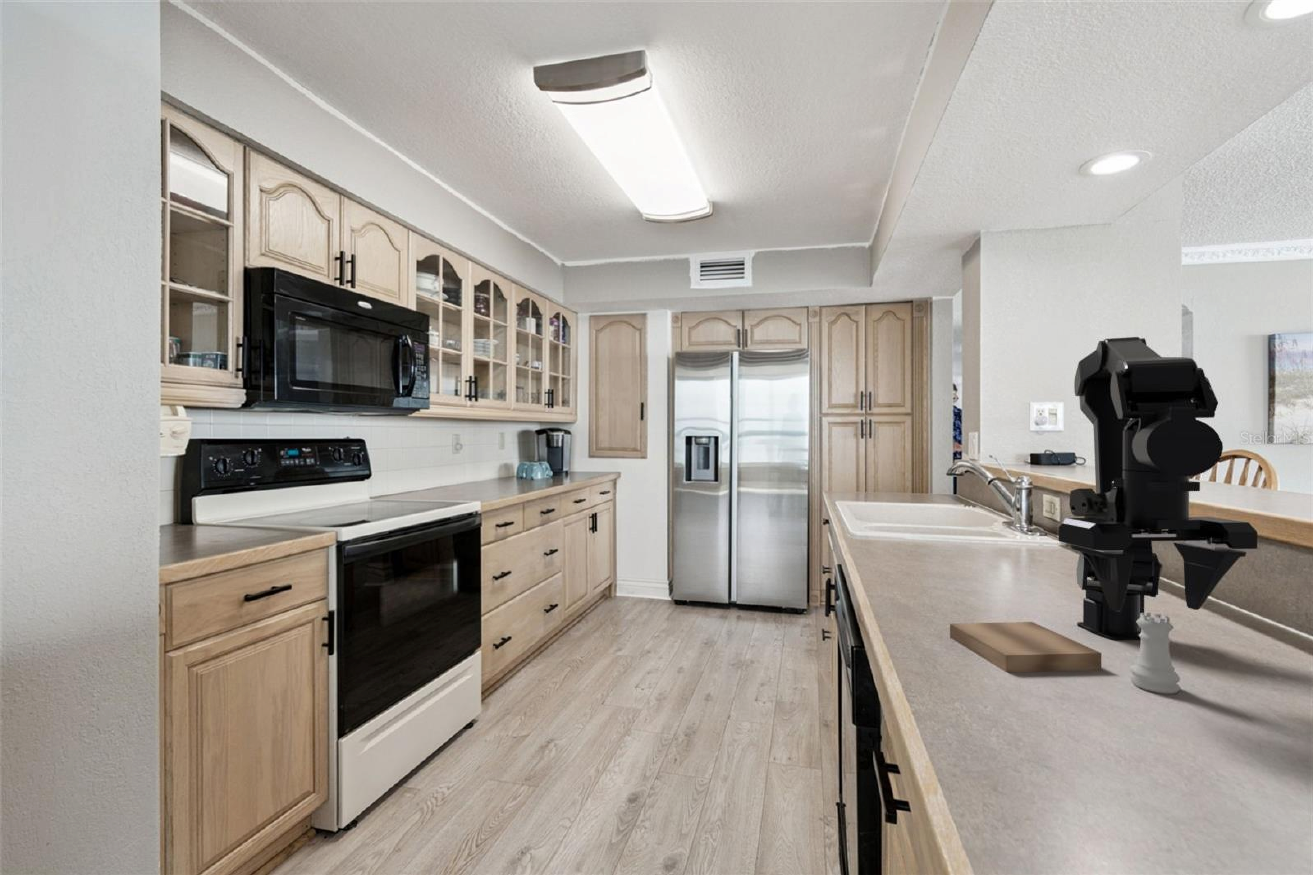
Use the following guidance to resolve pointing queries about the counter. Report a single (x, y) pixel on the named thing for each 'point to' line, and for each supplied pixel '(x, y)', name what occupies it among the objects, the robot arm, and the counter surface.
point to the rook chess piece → (1154, 656)
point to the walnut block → (1024, 647)
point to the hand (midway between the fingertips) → (1154, 609)
